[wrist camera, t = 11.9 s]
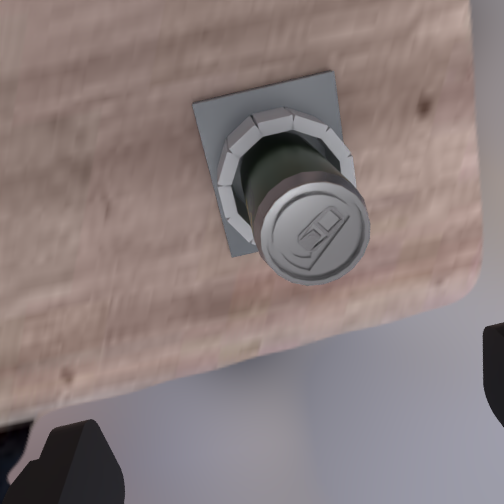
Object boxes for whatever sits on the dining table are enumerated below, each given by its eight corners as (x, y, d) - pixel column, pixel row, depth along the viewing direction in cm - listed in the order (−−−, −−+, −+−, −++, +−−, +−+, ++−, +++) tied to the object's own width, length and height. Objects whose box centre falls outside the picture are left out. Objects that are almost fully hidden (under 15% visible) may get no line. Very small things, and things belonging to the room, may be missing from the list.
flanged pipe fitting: (192, 102, 30) (189, 112, 25) (329, 70, 30) (351, 74, 25) (231, 250, 34) (234, 283, 30) (350, 223, 34) (372, 251, 30)
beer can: (277, 112, 29) (315, 149, 18) (334, 166, 31) (400, 229, 20) (223, 174, 31) (229, 243, 20) (280, 222, 33) (315, 310, 22)
